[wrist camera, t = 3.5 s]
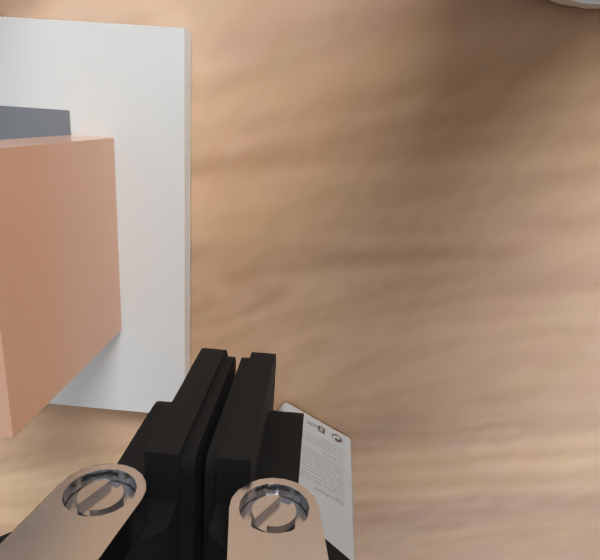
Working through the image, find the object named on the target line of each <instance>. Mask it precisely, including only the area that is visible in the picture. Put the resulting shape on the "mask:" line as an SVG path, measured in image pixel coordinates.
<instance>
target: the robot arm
mask: <svg viewBox="0 0 600 560" xmlns="http://www.w3.org/2000/svg"><path fill="white" fill-rule="evenodd" d="M550 1H552V2H555V3H557V4H561V5H567V6H573V7H579V8H585V9H600V0H550ZM275 369H276V354H268V353H256V352H252V353H251V356H250V358H242V359H241V362H240V364H239V367H238V370H237V373H236V375H235V371H236V359H235V357H228V354H227V350H219V349H207V348H202V349H201V351H200V353H199V354H198V356H197V358H196V360H195V362H194V363H193V365H192V367H191V369H190V370H189V372H188V374H187V376H186V378H185V379H184V381H183V383H182V385H181V387H180V388H179V390H178V392H177V394H176V395H175V397H174V399H173V401H172V402H166V401H157V402H156V403H155V404H154V405H153V407H152V409H151V410H150V412H149V413H148V415H147V417H146V418H145V420H144V421H143V423H142V425H141V426H140V428H139V430H138V431H137V433H136V434H135V436H134V438H133V439H132V441H131V442H130V444H129V446H128V447H127V449H126V451H125V452H124V454H123V455H122V457H121V459H120V460H119V462H118V463H117V464H102V465H95V466H92V467H88V468H85V469H82V470H80V471H78V472H76V473H74V474H72V475H70V476H69V477H68V478H66V479H65V480H64V481H63V482H61V483H60V484H59V485H58V486H57V487H56V488H55V489H54V490H53V491H52V492H51V493H50V494H49V495H48V496H47V497H46V498H45V499H44V500H43V501H42V502H41V503H40V504H39V505H38V506H37V507H36V508H35V509H34V510H33V511H32V512H31V513H30V514H29V515H28V516H27V517H26V518H25V519H24V520H23V521H22V522H21V523H20V524H19V525H18V526H17V527H16V528H15V529H14V530H13V531H12V532H10V533H8V534H5V535H3V536H1V537H0V560H350V559H349V558H348V557H346V556H345V555H344V554H343V553H342V552H340V551H339V550H338V549H337V548H336V547H335V546H333V545H332V544H331V543H330V542H329V541H328V540H326V539H325V537H324V532H323V527H322V522H321V516H320V511H319V506H318V504H317V501H316V499H315V497H314V496H313V495H312V493H311V492H310V491H309V490H308V489H307V488H305V487H303V486H302V485H300V484H299V471H300V458H301V445H302V432H303V420H304V413H296V412H284V411H273V403H274V386H275Z"/></svg>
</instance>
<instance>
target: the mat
mask: <svg viewBox="0 0 600 560" xmlns="http://www.w3.org/2000/svg"><path fill="white" fill-rule="evenodd" d="M62 135H84V136H98V137H112V138H114V152H115V177H116V201H117V226H118V251H119V275H120V300H121V325H122V330H121V331H120V332H119V333H118V334H117V335H116V336H115V337H114V338H113V339H112V340H111V341H110V342H109V343H108V344H107V345H106V346H105V347H104V348H103V349H102V350H101V351H100V352H99V353H98V354H97V355H96V356H95V357H94V358H93V359H92V360H91V361H90V362H89V363H88V364H87V365H86V366H85V367H84V368H83V369H82V370H81V371H80V372H79V373H78V374H77V375H76V376H75V377H74V378H73V379H72V380H71V381H70V382H69V383H68V384H67V385H66V386H65V387H64V388H63V389H62V390H61V391H60V392H59V393H58V394H57V395H56V396H55V397H54V398H53V399H52V400H51V401H50V402H49V403H48V404H58V405H69V406H80V407H90V408H101V409H112V410H123V411H134V412H145V413H149V412H150V410H151V409H152V407H153V405H154V404H155V403H156V402H157V401H166V402H172V401H173V399H174V397H175V395H176V394H177V392H178V390H179V388H180V387H181V385H182V383H183V381H184V379H185V378H186V376H187V374H188V372H189V370H190V211H191V32H190V31H189V30H187V29H185V28H175V27H159V26H143V25H127V24H112V23H96V22H80V21H64V20H48V19H32V18H16V17H1V16H0V140H3V139H18V138H33V137H47V136H62Z"/></svg>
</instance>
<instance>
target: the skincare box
mask: <svg viewBox="0 0 600 560" xmlns="http://www.w3.org/2000/svg"><path fill="white" fill-rule="evenodd" d="M279 411H284V412H296V413H304V412H302V411H301V410H299V409H297V408H295V407H294V406H292V405H290V404H288V403H283V404H282V406H281V407H280V409H279ZM299 484H300V485H302V486H303V487H305V488H307V489H308V490H309V491H310V492H311V493H312V495H313V496H314V497H315V499H316V501H317V504H318V506H319V511H320V516H321V522H322V527H323V532H324V537H325V539H326V540H328V541H329V542H330V543H331V544H332V545H333V546H335V547H336V548H337V549H338V550H339V551H340V552H342V553H343V554H344V555H345V556H346V557H348V558H349V559H350V560H355V547H354V520H353V490H352V460H351V440H350V439H349V438H348V437H347V436H345V435H343V434H341V433H340V432H338V431H336V430H334V429H333V428H331V427H329V426H327V425H325V424H323V423H322V422H320V421H318V420H316V419H315V418H313V417H311V416H309V415H308V414H306V413H304V420H303V432H302V445H301V458H300V471H299Z"/></svg>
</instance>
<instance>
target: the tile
mask: <svg viewBox="0 0 600 560" xmlns="http://www.w3.org/2000/svg"><path fill="white" fill-rule="evenodd" d="M121 330H122V325H121V300H120V275H119V251H118V226H117V201H116V177H115V152H114V138H112V137H98V136H84V135H62V136H47V137H33V138H18V139H3V140H0V437H4V438H14V437H15V436H16V435H17V434H18V433H19V432H20V431H21V430H22V429H23V428H24V427H25V426H26V425H27V424H28V423H29V422H30V421H31V420H32V419H33V418H34V417H35V416H36V415H37V414H38V413H39V412H40V411H41V410H42V409H43V408H44V407H45V406H46V405H47V404H48V403H49V402H50V401H51V400H52V399H53V398H54V397H55V396H56V395H57V394H58V393H59V392H60V391H61V390H62V389H63V388H64V387H65V386H66V385H67V384H68V383H69V382H70V381H71V380H72V379H73V378H74V377H75V376H76V375H77V374H78V373H79V372H80V371H81V370H82V369H83V368H84V367H85V366H86V365H87V364H88V363H89V362H90V361H91V360H92V359H93V358H94V357H95V356H96V355H97V354H98V353H99V352H100V351H101V350H102V349H103V348H104V347H105V346H106V345H107V344H108V343H109V342H110V341H111V340H112V339H113V338H114V337H115V336H116V335H117V334H118V333H119V332H120V331H121Z"/></svg>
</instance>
